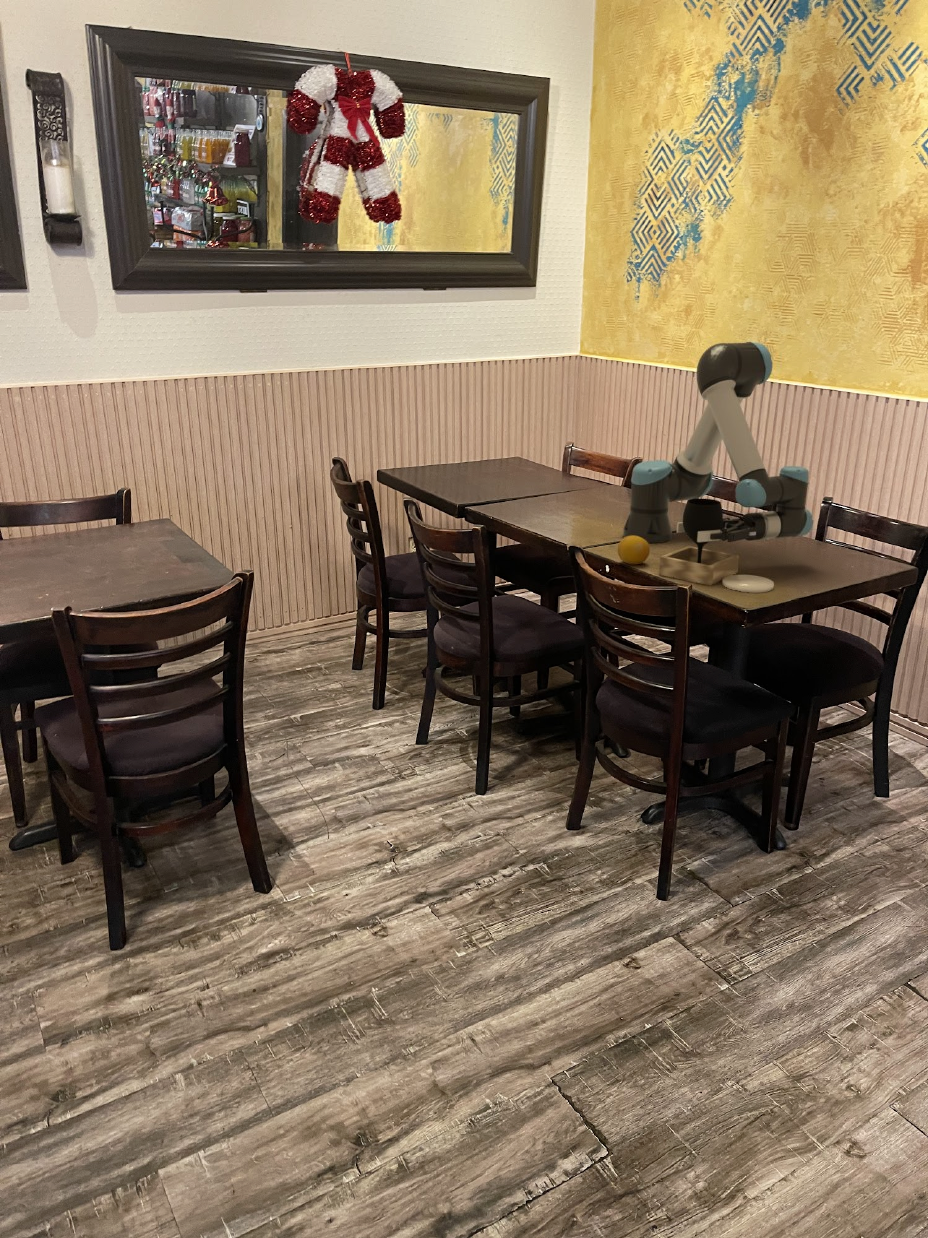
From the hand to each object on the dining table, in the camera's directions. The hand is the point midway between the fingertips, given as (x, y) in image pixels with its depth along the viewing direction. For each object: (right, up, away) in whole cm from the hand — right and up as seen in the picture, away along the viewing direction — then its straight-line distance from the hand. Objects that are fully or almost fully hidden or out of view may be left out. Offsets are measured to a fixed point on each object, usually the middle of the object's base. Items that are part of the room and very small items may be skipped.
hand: (687, 532), depth 254 cm
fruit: (-12, -8, +15) cm, 21 cm away
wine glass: (+4, -11, +5) cm, 13 cm away
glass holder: (+4, -11, +5) cm, 13 cm away
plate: (+15, -14, -5) cm, 21 cm away
